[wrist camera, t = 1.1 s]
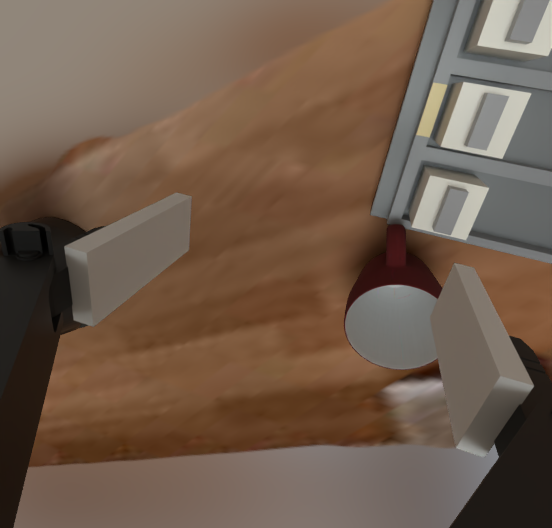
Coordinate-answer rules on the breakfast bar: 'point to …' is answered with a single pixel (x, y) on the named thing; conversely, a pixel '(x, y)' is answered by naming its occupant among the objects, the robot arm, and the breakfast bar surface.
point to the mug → (393, 308)
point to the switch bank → (491, 171)
